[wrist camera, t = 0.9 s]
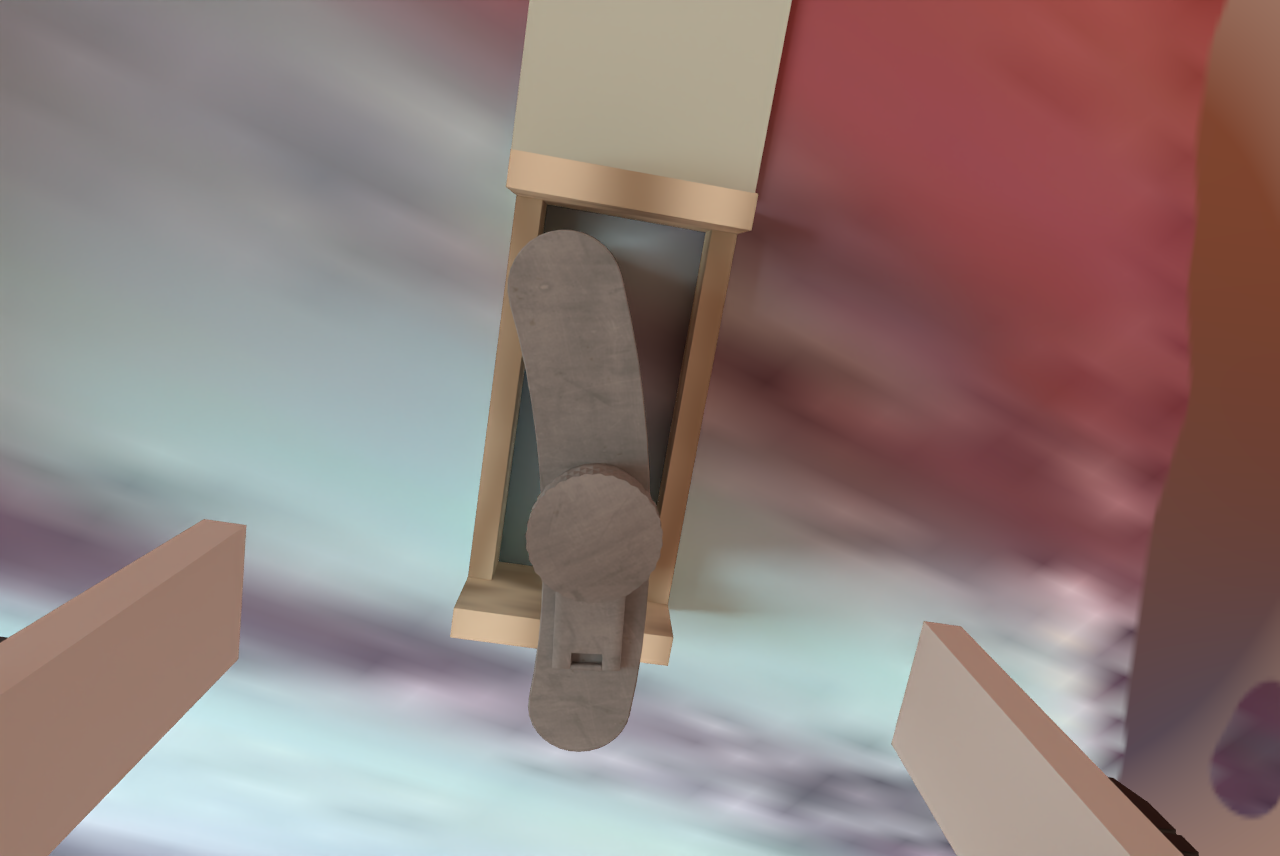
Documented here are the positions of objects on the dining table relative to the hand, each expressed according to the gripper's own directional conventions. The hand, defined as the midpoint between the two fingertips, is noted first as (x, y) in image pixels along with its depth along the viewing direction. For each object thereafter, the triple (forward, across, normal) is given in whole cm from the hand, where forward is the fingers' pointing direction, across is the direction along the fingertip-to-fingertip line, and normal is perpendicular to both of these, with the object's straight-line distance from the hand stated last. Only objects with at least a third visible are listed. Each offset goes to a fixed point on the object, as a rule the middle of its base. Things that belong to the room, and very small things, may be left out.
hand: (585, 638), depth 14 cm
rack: (+25, 0, 0) cm, 25 cm away
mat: (+25, 0, +19) cm, 31 cm away
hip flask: (+25, 0, 0) cm, 25 cm away
